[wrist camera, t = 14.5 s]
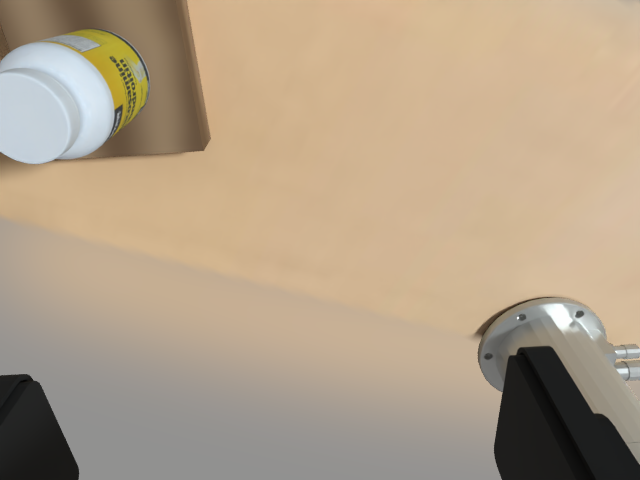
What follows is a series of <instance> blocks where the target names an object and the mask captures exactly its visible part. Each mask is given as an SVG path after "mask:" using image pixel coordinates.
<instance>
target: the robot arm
mask: <svg viewBox="0 0 640 480" xmlns="http://www.w3.org/2000/svg"><path fill="white" fill-rule="evenodd" d="M639 357H640V349H639V347H638V346H637V345H636V344H628V345H620V346H614V345H613V344H611V343H608V341H607V336H606V331H605V328H604V326H603V324H602V322H601V320H600V319H599V318H598V317H597V315H596V314H595V313H594V312H593V311H592V310H591V309H590V308H588V307H587V306H585V305H583V304H582V303H580V302H577V301H574V300H570V299H566V298H556V297H554V298H541V299H537V300H532V301H528V302H526V303H523V304H520V305H518V306H516V307H514V308H512V309H510V310H508V311H507V312H505V313H504V314H502V315H501V316H500V317H498V318H497V319H496V320H495V321H494V322H493V323H492V324H491V325H490V326H489V328H488V329H487V330H486V332H485V333H484V335H483V337H482V339H481V342H480V344H479V349H478V362H479V365H480V368H481V371H482V373H483V375H484V377H485V379H486V380H487V381H488V382H489V383H490V384H491V385H492V386H493V387H495V388H496V389H498V390H499V391H501V392H503V394H502V400H501V406H500V412H499V418H498V425H497V431H496V438H495V444H494V454H495V460H496V464H497V467H498V470H499V473H500V475H501V478H502V480H640V401H639V400H638V398H637V397H636V396H635V394H634V393H633V391H632V390H631V389H630V387H629V386H628V385H627V383H626V382H625V381H633V380H640V360H633V361H621V362H616V363H615V361H616V359H620V358H623V359H633V358H639ZM624 380H625V381H624ZM78 479H79V469H78V465H77V463H76V461H75V459H74V457H73V455H72V452H71V450H70V448H69V446H68V444H67V441H66V439H65V437H64V435H63V433H62V431H61V428H60V426H59V424H58V422H57V420H56V417H55V415H54V413H53V411H52V409H51V406H50V404H49V402H48V400H47V398H46V396H45V393H44V391H43V389H42V387H41V385H40V383H38V382H37V381H33V379H32V378H31V376H29V375H27V374H19V375H1V376H0V480H78Z"/></svg>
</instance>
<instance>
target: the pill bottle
mask: <svg viewBox="0 0 640 480" xmlns="http://www.w3.org/2000/svg"><path fill="white" fill-rule="evenodd" d="M149 93H150V78H149V73H148V69H147V67H146V64H145V62H144V60H143V58H142V57H141V55H140V54H139V52H138V51H137V50H136V49H135V48H134V46H132V45H131V44H130V43H129V42H128V41H127V40H125V39H124V38H122V37H121V36H119V35H117V34H115V33H113V32H110V31H107V30H103V29H83V30H79V31H75V32H71V33H68V34H64V35H60V36H56V37H52V38H48V39H44V40H40V41H36V42H32V43H29V44H26V45H23V46H20V47H18V48H16V49H14V50H12V51H11V52H10V53H8V54H7V55H6V56H5V57H4V58H3V59H2V61H1V62H0V152H1V153H3V154H4V155H6V156H8V157H10V158H12V159H14V160H16V161H20V162H23V163H29V164H42V163H46V162H50V161H52V160H54V159H75V158H80V157H83V156H86V155H88V154H90V153H92V152H94V151H95V150H97V149H98V148H99V147H101V146H102V145H103V144H104V143H105V142H106V141H108V140H109V139H110V138H111V137H112V136H114V135H115V134H116V133H117V132H119V131H120V130H121V129H122V128H123V127H124V126H126V125H127V124H128V123H129V122H130V121H131V120H133V119H134V118H135V117H136V116H137V115H138V114H139V113H140V112H141V111H142V110H143V108H144V106H145V105H146V103H147V100H148V97H149Z"/></svg>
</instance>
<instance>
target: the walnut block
mask: <svg viewBox="0 0 640 480" xmlns="http://www.w3.org/2000/svg"><path fill="white" fill-rule="evenodd" d="M0 24H1V27H2V30H3V33H4V36H5V39H6V41H7V44H8V47H9V50H10V52H11V51H12V50H14V49H16V48H18V47H20V46H23V45H26V44H29V43H32V42H36V41H40V40H44V39H48V38H52V37H56V36H60V35H64V34H68V33H71V32H75V31H79V30H83V29H103V30H107V31H110V32H113V33H115V34H117V35H119V36H121V37H122V38H124V39H125V40H127V41H128V42H129V43H130V44H131V45H132V46H134V48H135V49H136V50H137V51H138V52H139V54H140V55H141V57H142V58H143V60H144V62H145V64H146V67H147V69H148V73H149V78H150V93H149V97H148V100H147V103H146V105H145V106H144V108H143V110H142V111H141V112H140V113H139V114H138V115H137V116H136V117H135V118H134V119H133V120H131V121H130V122H129V123H128V124H127V125H126V126H124V127H123V128H122V129H121V130H120V131H119V132H117V133H116V134H115V135H114V136H112V137H111V138H110V139H109V140H108V141H106V142H105V143H104V144H103V145H102V146H101V147H99V148H98V149H97V150H95V151H94V152H92V153H90V154H88V155H86V156H83V157H80V158H75V159H85V158H100V157H116V156H131V155H147V154H163V153H178V152H194V151H204V149H205V147H206V146H207V144H208V142H209V141H210V139H211V138H210V132H209V126H208V121H207V115H206V109H205V103H204V98H203V92H202V86H201V80H200V75H199V69H198V63H197V57H196V52H195V46H194V40H193V35H192V29H191V23H190V17H189V12H188V6H187V0H0ZM54 160H69V159H54ZM52 161H53V160H52Z"/></svg>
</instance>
